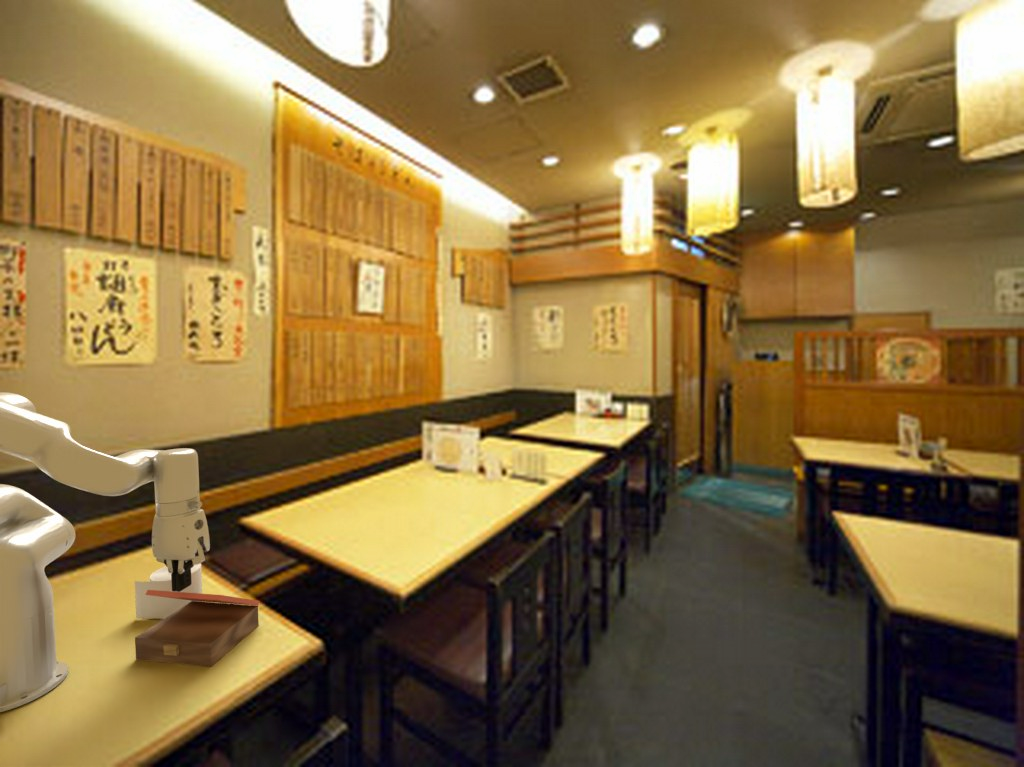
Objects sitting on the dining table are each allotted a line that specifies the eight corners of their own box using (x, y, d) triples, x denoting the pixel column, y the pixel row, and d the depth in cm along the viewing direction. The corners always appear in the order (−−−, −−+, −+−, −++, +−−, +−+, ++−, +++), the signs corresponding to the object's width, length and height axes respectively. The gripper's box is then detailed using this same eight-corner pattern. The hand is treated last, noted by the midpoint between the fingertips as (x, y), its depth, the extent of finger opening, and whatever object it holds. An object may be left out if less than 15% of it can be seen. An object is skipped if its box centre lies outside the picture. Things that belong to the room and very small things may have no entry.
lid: (219, 600, 90) (221, 595, 91) (145, 594, 92) (147, 589, 93) (258, 605, 102) (259, 601, 102) (191, 600, 104) (193, 596, 104)
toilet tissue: (212, 599, 114) (211, 563, 113) (165, 626, 102) (164, 586, 101) (182, 593, 116) (181, 558, 116) (134, 618, 105) (132, 580, 104)
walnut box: (208, 668, 88) (208, 645, 87) (133, 661, 90) (132, 639, 89) (258, 625, 102) (258, 605, 102) (192, 620, 104) (191, 600, 104)
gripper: (223, 501, 93) (226, 581, 94) (163, 499, 95) (167, 577, 96) (194, 513, 86) (197, 600, 86) (130, 511, 87) (134, 595, 88)
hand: (181, 588), depth 91 cm, fingers closed
